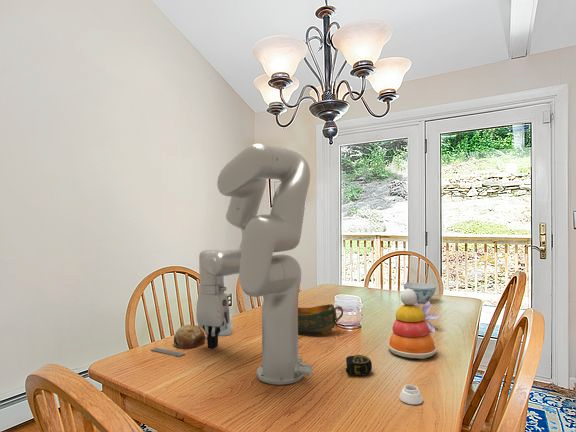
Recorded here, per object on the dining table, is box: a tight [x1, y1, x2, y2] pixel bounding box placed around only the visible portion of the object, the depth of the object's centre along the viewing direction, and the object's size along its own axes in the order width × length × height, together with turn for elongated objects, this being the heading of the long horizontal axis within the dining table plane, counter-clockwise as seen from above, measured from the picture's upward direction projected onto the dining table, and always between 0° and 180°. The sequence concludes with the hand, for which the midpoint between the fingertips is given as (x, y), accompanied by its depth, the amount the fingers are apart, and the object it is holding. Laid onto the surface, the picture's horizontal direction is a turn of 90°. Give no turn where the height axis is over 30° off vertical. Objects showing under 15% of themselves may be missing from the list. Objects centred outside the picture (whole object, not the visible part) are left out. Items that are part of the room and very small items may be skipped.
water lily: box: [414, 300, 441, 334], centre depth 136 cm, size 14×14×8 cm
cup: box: [218, 311, 233, 337], centre depth 132 cm, size 6×6×7 cm
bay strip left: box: [150, 347, 185, 358], centre depth 113 cm, size 12×2×1 cm, turn 63°
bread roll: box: [173, 324, 206, 350], centre depth 121 cm, size 10×10×8 cm
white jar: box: [398, 384, 424, 406], centre depth 82 cm, size 5×3×5 cm
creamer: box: [298, 303, 344, 337], centre depth 131 cm, size 13×20×10 cm, turn 50°
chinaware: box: [403, 282, 437, 304], centre depth 178 cm, size 15×15×8 cm
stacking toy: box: [387, 289, 438, 360], centre depth 111 cm, size 14×14×20 cm
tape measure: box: [345, 354, 373, 376], centre depth 97 cm, size 7×7×4 cm
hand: (212, 347), depth 115 cm, fingers closed
